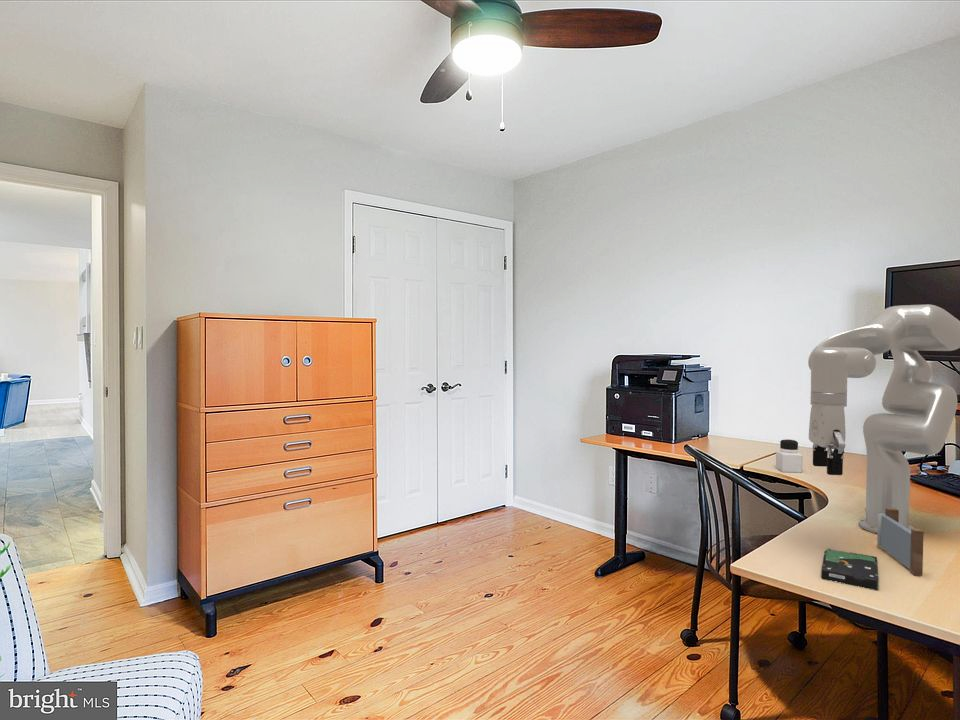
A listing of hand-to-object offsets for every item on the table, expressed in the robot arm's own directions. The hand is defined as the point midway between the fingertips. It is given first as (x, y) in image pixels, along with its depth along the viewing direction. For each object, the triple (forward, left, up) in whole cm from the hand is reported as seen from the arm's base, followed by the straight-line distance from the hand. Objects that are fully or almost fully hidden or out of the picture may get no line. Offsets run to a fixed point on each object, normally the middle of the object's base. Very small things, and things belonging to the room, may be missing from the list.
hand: (827, 470), depth 135 cm
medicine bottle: (-85, +18, -20) cm, 89 cm away
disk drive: (+13, 0, -21) cm, 24 cm away
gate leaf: (+3, +14, -19) cm, 24 cm away
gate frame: (+4, +15, -20) cm, 25 cm away
